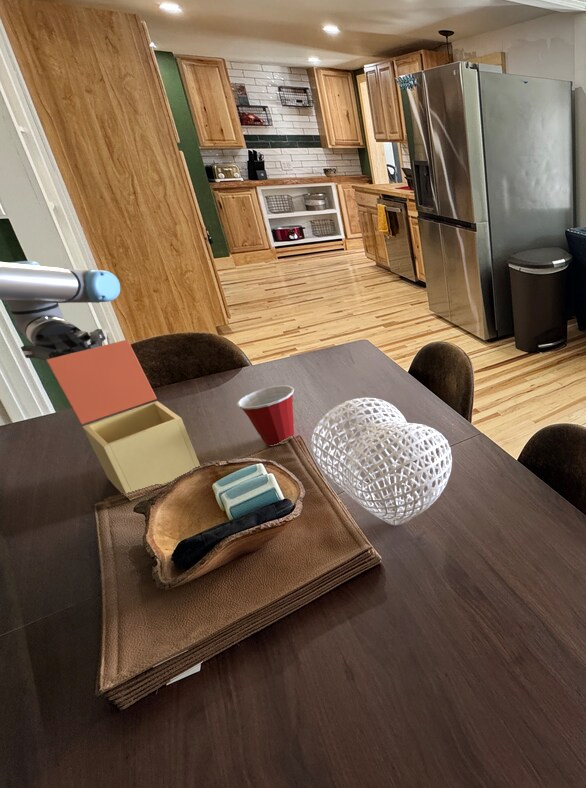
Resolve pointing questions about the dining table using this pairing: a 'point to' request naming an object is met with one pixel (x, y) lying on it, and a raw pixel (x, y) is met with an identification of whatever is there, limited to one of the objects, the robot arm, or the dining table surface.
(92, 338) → the robot arm
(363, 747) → the dining table surface
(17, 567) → the dining table surface
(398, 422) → the heart
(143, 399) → the lid
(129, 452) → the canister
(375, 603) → the dining table surface
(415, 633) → the dining table surface
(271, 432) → the plastic cup
